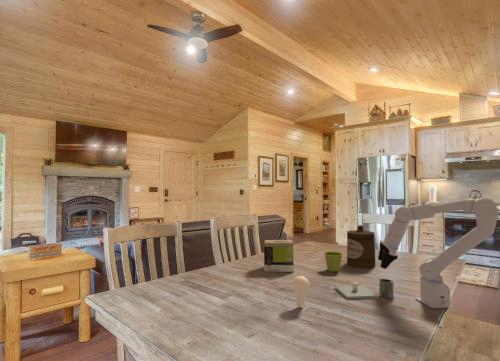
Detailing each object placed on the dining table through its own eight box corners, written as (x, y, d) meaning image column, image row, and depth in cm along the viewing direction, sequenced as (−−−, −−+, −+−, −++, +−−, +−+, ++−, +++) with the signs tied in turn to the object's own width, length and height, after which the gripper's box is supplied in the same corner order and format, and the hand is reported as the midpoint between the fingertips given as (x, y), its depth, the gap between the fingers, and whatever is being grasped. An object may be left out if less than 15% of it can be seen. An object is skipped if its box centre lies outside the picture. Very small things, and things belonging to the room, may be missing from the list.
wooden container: (341, 262, 169) (341, 224, 170) (363, 260, 174) (363, 223, 174) (358, 269, 155) (358, 227, 156) (381, 267, 160) (381, 226, 160)
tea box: (292, 267, 158) (292, 239, 158) (293, 272, 148) (293, 243, 148) (264, 266, 159) (264, 239, 160) (263, 271, 149) (263, 242, 150)
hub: (396, 298, 114) (396, 282, 114) (383, 298, 114) (383, 282, 114) (388, 293, 119) (388, 278, 119) (377, 293, 119) (376, 278, 119)
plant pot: (339, 274, 146) (338, 256, 146) (321, 270, 152) (321, 253, 152) (345, 270, 153) (345, 253, 154) (328, 267, 159) (328, 250, 159)
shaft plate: (377, 298, 114) (377, 287, 114) (347, 299, 113) (347, 288, 113) (362, 287, 126) (362, 278, 126) (335, 288, 125) (335, 279, 125)
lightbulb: (297, 302, 109) (297, 272, 109) (312, 307, 105) (312, 276, 105) (288, 307, 104) (288, 276, 105) (304, 312, 100) (304, 280, 101)
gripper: (382, 225, 126) (370, 253, 129) (387, 236, 112) (373, 267, 115) (399, 232, 124) (386, 260, 127) (406, 243, 111) (392, 274, 114)
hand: (381, 264), depth 121 cm, fingers open, 7 cm apart
